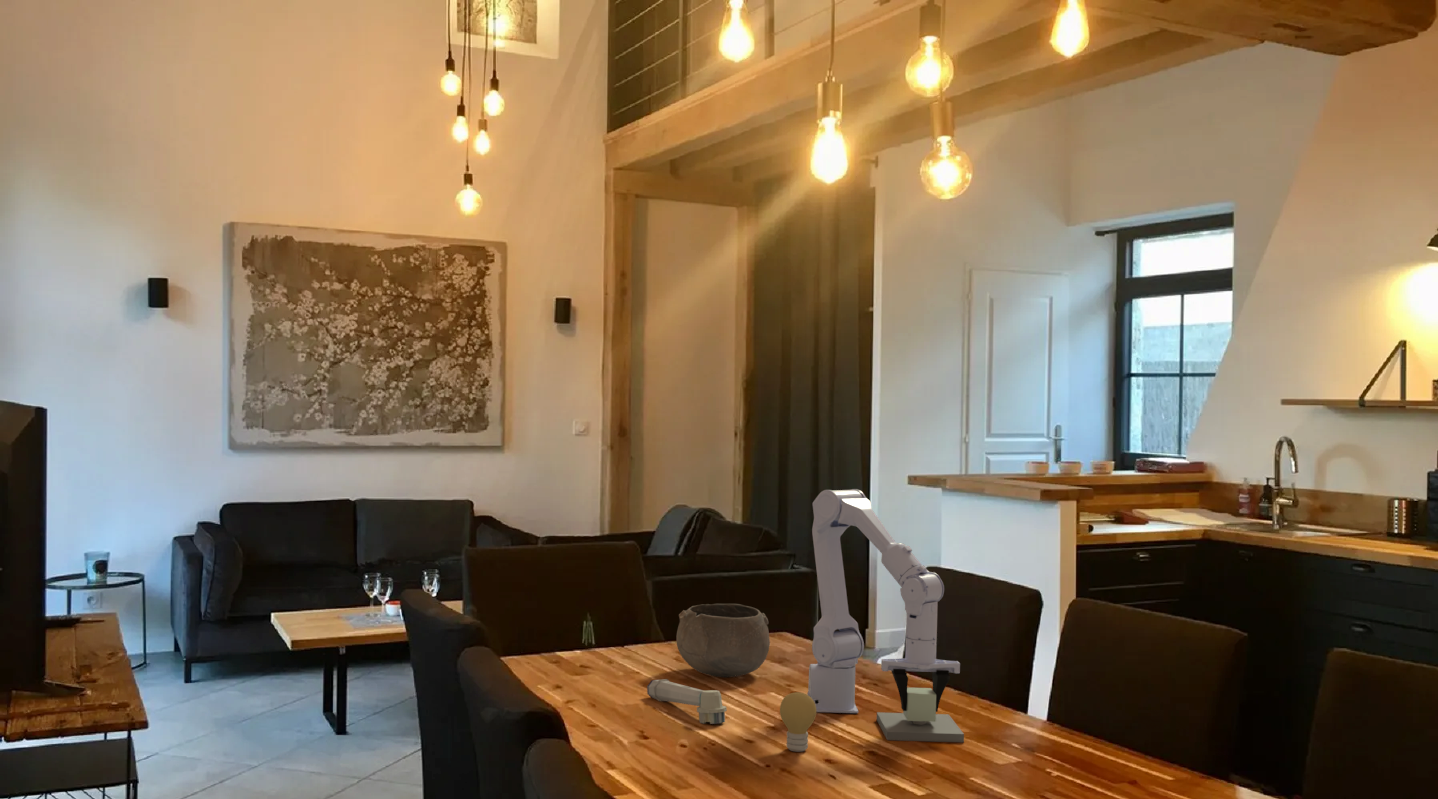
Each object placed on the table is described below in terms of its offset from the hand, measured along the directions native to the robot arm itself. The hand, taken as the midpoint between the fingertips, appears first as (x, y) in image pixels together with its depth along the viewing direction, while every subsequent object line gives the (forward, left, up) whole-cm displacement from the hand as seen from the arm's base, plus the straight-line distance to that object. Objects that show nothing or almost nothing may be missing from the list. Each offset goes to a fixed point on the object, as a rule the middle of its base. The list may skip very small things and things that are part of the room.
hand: (919, 710), depth 216 cm
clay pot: (-37, +43, -4) cm, 57 cm away
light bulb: (-24, -15, -4) cm, 29 cm away
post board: (0, 0, -4) cm, 4 cm away
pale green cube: (0, 0, -1) cm, 1 cm away
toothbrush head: (-44, +10, -4) cm, 46 cm away
